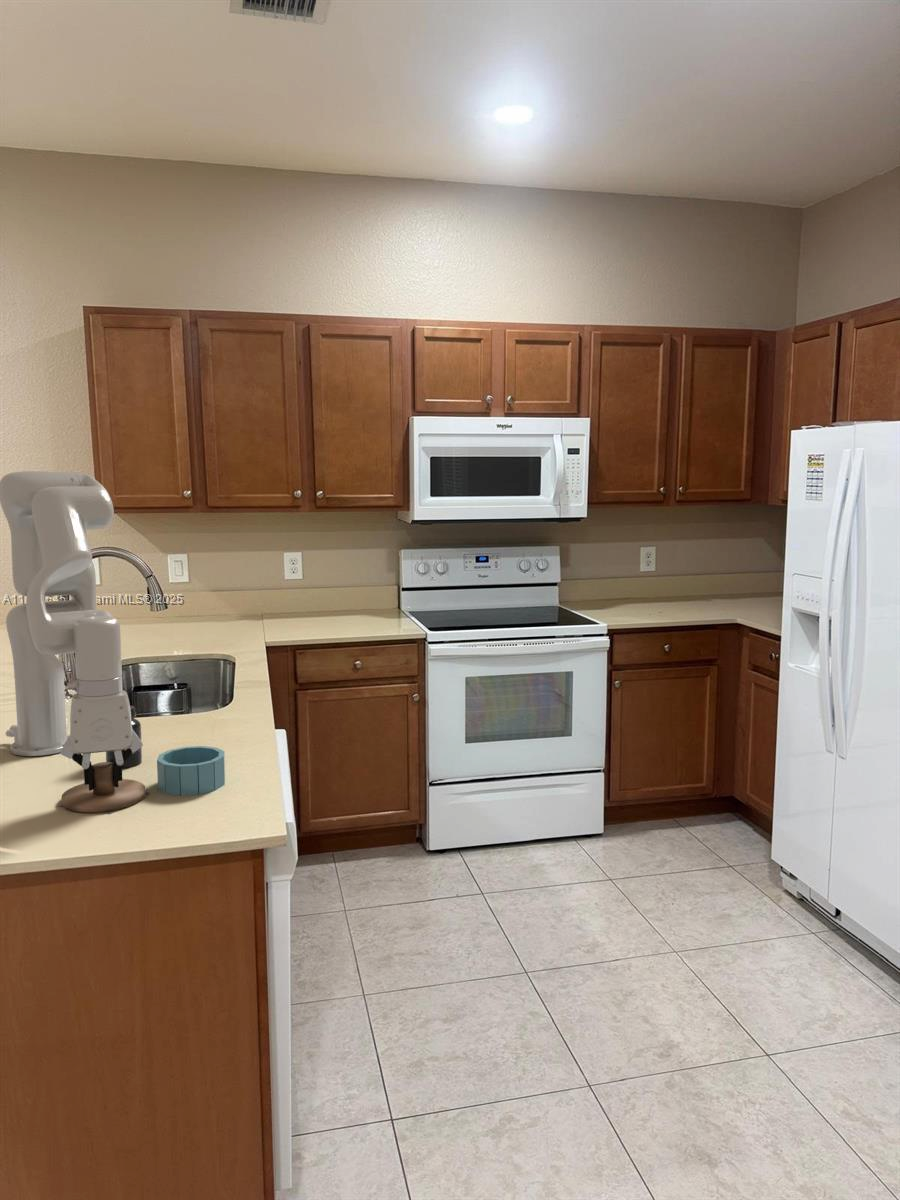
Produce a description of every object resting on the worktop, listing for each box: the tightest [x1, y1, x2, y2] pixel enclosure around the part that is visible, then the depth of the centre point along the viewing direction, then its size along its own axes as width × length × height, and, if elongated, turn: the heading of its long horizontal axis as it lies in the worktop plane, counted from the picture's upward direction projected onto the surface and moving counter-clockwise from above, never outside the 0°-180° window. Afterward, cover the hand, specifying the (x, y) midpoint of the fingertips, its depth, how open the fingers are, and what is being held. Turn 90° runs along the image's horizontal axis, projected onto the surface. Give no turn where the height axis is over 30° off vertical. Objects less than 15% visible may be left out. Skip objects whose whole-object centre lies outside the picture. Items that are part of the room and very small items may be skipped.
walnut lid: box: [61, 761, 147, 813], centre depth 154 cm, size 14×14×6 cm
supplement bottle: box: [105, 705, 143, 770], centre depth 173 cm, size 7×7×12 cm
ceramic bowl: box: [156, 745, 226, 797], centre depth 162 cm, size 12×12×6 cm
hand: (103, 785), depth 154 cm, fingers closed on walnut lid, 3 cm apart
